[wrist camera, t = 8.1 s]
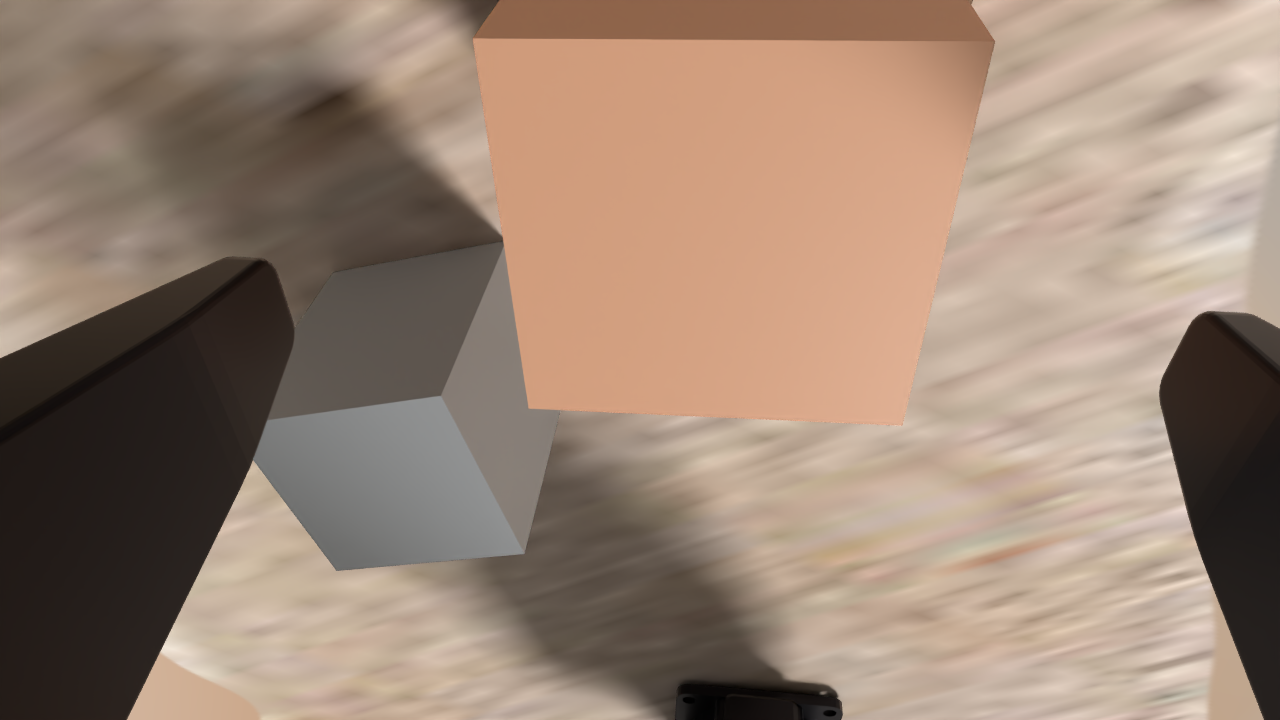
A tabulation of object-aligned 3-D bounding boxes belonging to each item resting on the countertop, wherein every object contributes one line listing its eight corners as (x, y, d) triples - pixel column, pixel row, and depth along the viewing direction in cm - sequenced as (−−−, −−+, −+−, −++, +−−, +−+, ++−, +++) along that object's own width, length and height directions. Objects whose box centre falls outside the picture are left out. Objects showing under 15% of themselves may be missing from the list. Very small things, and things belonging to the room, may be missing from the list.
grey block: (566, 386, 24) (524, 553, 20) (410, 407, 25) (336, 571, 21) (506, 239, 21) (441, 395, 17) (333, 271, 23) (227, 425, 18)
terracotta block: (855, 200, 16) (902, 425, 11) (589, 194, 16) (528, 408, 12) (901, -100, 12) (994, 41, 8) (568, -98, 13) (473, 38, 8)
